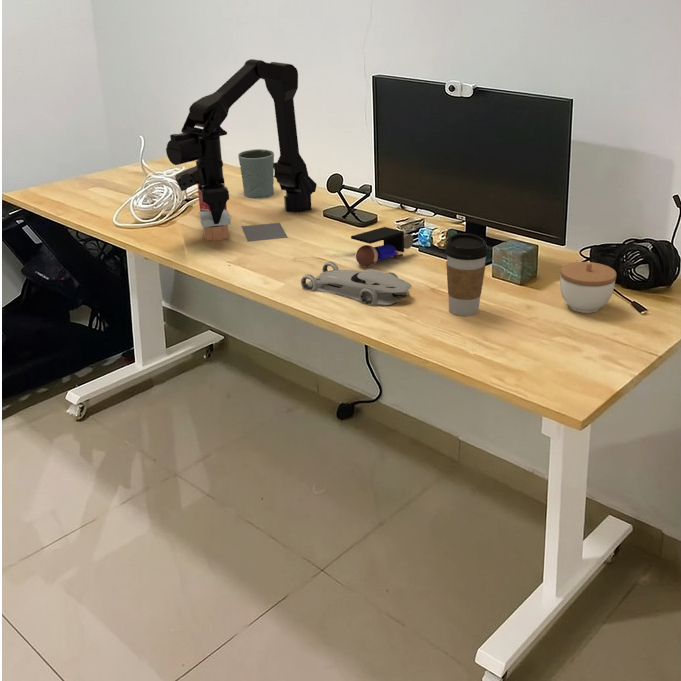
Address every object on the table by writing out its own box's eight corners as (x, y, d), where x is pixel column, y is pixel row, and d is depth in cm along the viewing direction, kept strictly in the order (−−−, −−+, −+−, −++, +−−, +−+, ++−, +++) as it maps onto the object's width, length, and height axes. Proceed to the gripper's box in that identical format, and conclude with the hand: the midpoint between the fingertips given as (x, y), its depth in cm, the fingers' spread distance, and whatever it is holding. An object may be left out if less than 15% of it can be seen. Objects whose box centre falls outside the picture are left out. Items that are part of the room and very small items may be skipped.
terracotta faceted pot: (226, 236, 214) (225, 218, 212) (230, 243, 209) (228, 225, 207) (203, 238, 213) (202, 221, 211) (206, 246, 208) (204, 228, 206)
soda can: (230, 217, 228) (226, 173, 223) (224, 225, 222) (220, 180, 217) (204, 216, 229) (200, 173, 224) (198, 225, 223) (193, 180, 217)
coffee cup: (470, 299, 176) (474, 230, 169) (492, 314, 169) (497, 243, 162) (435, 306, 173) (437, 236, 166) (456, 322, 166) (459, 249, 159)
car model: (324, 273, 191) (323, 252, 189) (420, 293, 180) (421, 271, 178) (296, 290, 183) (295, 268, 181) (396, 312, 172) (396, 289, 169)
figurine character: (391, 254, 205) (347, 264, 194) (394, 223, 202) (350, 232, 192) (412, 261, 200) (369, 271, 190) (416, 229, 198) (372, 238, 187)
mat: (280, 227, 220) (279, 222, 219) (288, 242, 209) (287, 237, 209) (241, 230, 218) (241, 226, 217) (247, 246, 207) (247, 241, 207)
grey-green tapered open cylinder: (278, 189, 251) (276, 149, 245) (272, 199, 242) (270, 158, 236) (245, 189, 252) (242, 149, 246) (237, 199, 243) (234, 157, 237)
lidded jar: (545, 304, 173) (550, 261, 169) (583, 292, 178) (588, 250, 174) (585, 322, 165) (590, 277, 161) (623, 309, 170) (629, 266, 166)
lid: (227, 215, 213) (227, 209, 212) (230, 224, 207) (230, 218, 206) (199, 218, 211) (199, 212, 211) (202, 227, 205) (201, 220, 205)
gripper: (172, 149, 208) (179, 211, 215) (177, 169, 192) (184, 234, 199) (218, 146, 211) (223, 207, 218) (226, 165, 194) (231, 230, 201)
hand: (215, 219), depth 209 cm, fingers closed on lid, 7 cm apart
